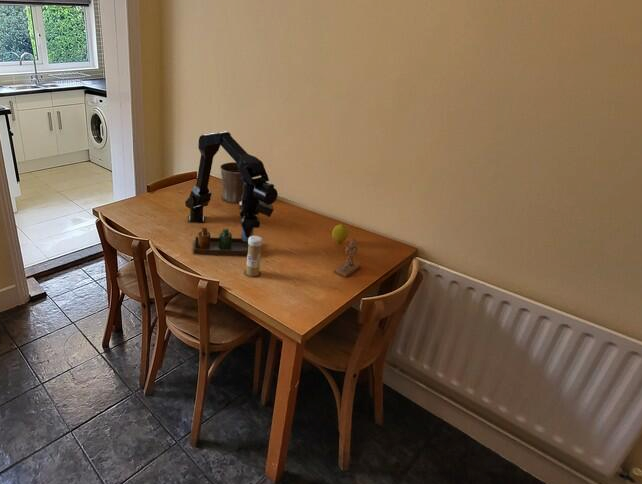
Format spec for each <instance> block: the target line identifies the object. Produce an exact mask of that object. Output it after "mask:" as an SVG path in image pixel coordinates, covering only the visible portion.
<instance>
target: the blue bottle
mask: <svg viewBox="0 0 642 484" xmlns="http://www.w3.org/2000/svg"><path fill="white" fill-rule="evenodd" d="M254 233H255V228H253V229H252V231H251V234H250V236H254ZM240 235H241V236H240V238H241V240H242V241H245V242H248V239H249V238H248V237H246V235H245V232H244V230H243V227H242V226H241V234H240Z"/></svg>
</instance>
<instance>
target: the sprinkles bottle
mask: <svg viewBox="0 0 642 484" xmlns="http://www.w3.org/2000/svg"><path fill="white" fill-rule="evenodd" d="M248 244H249V246H248V256H246V268H245V269H246V270H245V274H246V275H247V276H250V277H257V276H259V274H260V265H261V257H262V256H261V255H262V246H263V238H262V237H261V236H259V235H253V236H250V237H249V239H248Z"/></svg>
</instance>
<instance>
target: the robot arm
mask: <svg viewBox="0 0 642 484" xmlns="http://www.w3.org/2000/svg"><path fill="white" fill-rule="evenodd" d="M220 147H222V148H223V150H224V151H225V152H226V153H227V154H228V155H229V156H230V157H231V158H232V159H233V160H234V161H235V162H236V163H237V164H238V170H239V171H240V173H241V174H242V177H241V178H240V179H239V180H240V181H242V182H243V192H242V201H240V202H239V203H238V209H239V210H240V211H239V215H240V226H241V228H242V227H243V230H244V232H245V235H246V237H248V238H249V237H250V234H251V231H252V229H253V228H254V229H258V228H260V226H261V224H260V223H261V220H260V217H259V216H258V215H259V214H261V215H264V216H266V217H268V218H270V217H271V216H272V215H273V212H274V210H275V207H274V205H272V204H274V203H275V202H276V200H277V199H278V195H279V193H278V190H277V189H276V188H275V184H274V183H269V182H270V178H269V175H268V173H267V171H266V168H265V164H264V162H263V161H262V160H260V159H259V158H258V157H257V156H254V155H252V154H249V153H248V152H247V151H246V150H245V149H244V148H243V147H242V146H241V145H240V144H239V143H238V142H237V141H236V140H235V139H234V137H233V136H232V134H231V133H230V132H229V131H222V132H212V133H206V134H205V133H204V134H201V135H200V136H199V138H198V150H199V153H200V159H199V163H198V165H199V166H198V170H197V176H196V183H195V186H193V188H192V189H191V191H190V193H189V197H188V198H187V199H186V200H185V201H184V204H185V207H186V208H187V209H189V216H188V222H190V223H204V222H205V215H204V207H207V206H209V203H210V201H211V200H212V199H211V197H212V192H211V191H210V189H209V182H210V176H211V173H212V167H213V161H214V158H215V156H216V154H218V152H219V150H220Z"/></svg>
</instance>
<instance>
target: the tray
mask: <svg viewBox="0 0 642 484" xmlns="http://www.w3.org/2000/svg"><path fill="white" fill-rule="evenodd" d="M248 246H249V244H248V242H245V241H242V240H241V237H240V238H239V237H232V243H231V249H229V250H223V249H220V248H219V237H215V236H214V237H212V236H210V248H209V249H200V248H199V247H198V236H195V237H194V246H193V254H194V255H213V256H215V255H216V256H238V257H242V256H243V257H247V256H248Z"/></svg>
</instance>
